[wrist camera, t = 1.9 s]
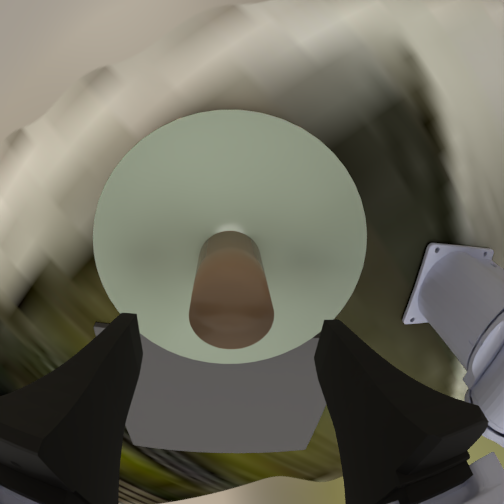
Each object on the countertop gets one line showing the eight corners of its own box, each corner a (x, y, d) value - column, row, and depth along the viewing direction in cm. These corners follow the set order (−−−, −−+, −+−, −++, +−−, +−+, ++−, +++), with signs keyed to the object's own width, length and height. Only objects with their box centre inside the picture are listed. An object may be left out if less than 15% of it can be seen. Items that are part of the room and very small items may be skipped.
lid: (383, 132, 14) (449, 144, 9) (331, 356, 20) (355, 417, 15) (93, 111, 12) (30, 113, 7) (115, 348, 19) (92, 411, 13)
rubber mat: (350, 332, 25) (352, 336, 25) (304, 445, 33) (305, 449, 33) (95, 322, 23) (93, 326, 22) (134, 441, 31) (133, 444, 30)
